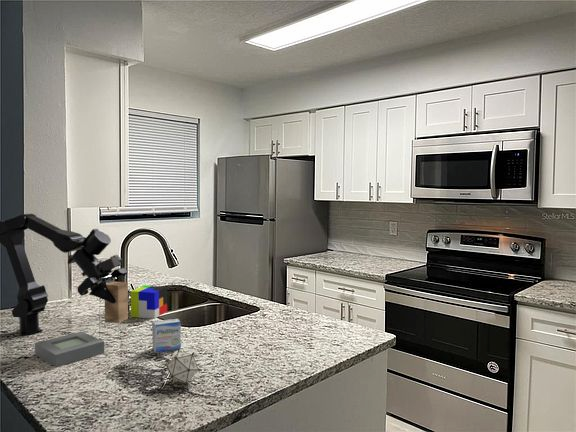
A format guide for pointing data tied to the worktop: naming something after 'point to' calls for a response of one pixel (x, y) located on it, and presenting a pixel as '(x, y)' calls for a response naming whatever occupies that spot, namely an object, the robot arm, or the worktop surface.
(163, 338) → the medicine box
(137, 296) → the puzzle toy
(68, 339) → the base plate
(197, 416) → the worktop surface
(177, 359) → the game die
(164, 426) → the worktop surface
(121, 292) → the post
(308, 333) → the worktop surface
